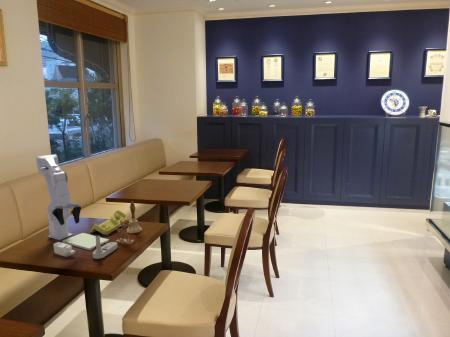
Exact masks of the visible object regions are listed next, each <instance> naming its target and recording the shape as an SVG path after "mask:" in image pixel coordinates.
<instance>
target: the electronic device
mask: <svg viewBox="0 0 450 337" xmlns="http://www.w3.org/2000/svg"><path fill="white" fill-rule="evenodd" d="M95 236H96V249H95V250H94V251H93V252H92V257H93V259H95V260H100V259H102V258H105V257H106V256H108V255H110V254H111V253H113V252H114V251H116V250H117V249H118V248H119V246H118V243H116V241H112V242H111V241H109V242H107V243H105V244H103V246H102V245H101V243H100V237H101V236H100V235H95Z"/></svg>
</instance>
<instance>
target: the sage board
mask: <svg viewBox="0 0 450 337" xmlns="http://www.w3.org/2000/svg"><path fill="white" fill-rule="evenodd" d="M96 236H97V235H93V234H89V233H85V232H81V233H78V234H76V235H74V236H73V235H72V236H70V237H67V238H66V239H65V238H64V239H62V242H61V243H64V244H68V245H71V246H72V247H73V246H74V247H77V248H79V249H80V248H81V249H83V250H87V251H91V250H94V249H95V247H96ZM100 243H101V246H102V245H105V244H107V243H110V239H109V238H104V237H101V236H100ZM104 243H105V244H104Z"/></svg>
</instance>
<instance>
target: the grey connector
mask: <svg viewBox="0 0 450 337" xmlns="http://www.w3.org/2000/svg"><path fill="white" fill-rule="evenodd" d="M53 251H54V252H53V253H54V254H56V255H59V256H62V257H67V258H68V257H71V256H73V255H74V254H76V250H75V249H74V250H73V245H69V244H66V243H63V242H60V241H59V242H58V241H57V242H55V243H53Z"/></svg>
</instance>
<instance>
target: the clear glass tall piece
mask: <svg viewBox="0 0 450 337" xmlns="http://www.w3.org/2000/svg"><path fill="white" fill-rule="evenodd" d="M122 220H124V221H125V222H124V223H123V221H122ZM122 220H120V224H121V225H120V227H121V228H120V227H119V226H118V227H117V229H116V231H117V232H118V233H120V232H121V234H120V236H119V238H118V239H116V240H115V242H116V243H117V244H120V243H121V245H127V246H128V245H129V246H131V245H133V244H134V243H135V242H136V240H135V239H132V238H131V237H130V235H129V233H127V230H129V229H130V228H131V224H130V223H128V221H127V219H126V220H125V219H122ZM121 221H122V223H121ZM128 227H130V228H129V229H128ZM123 234H124V235H123ZM122 235H123V237H122Z"/></svg>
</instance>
